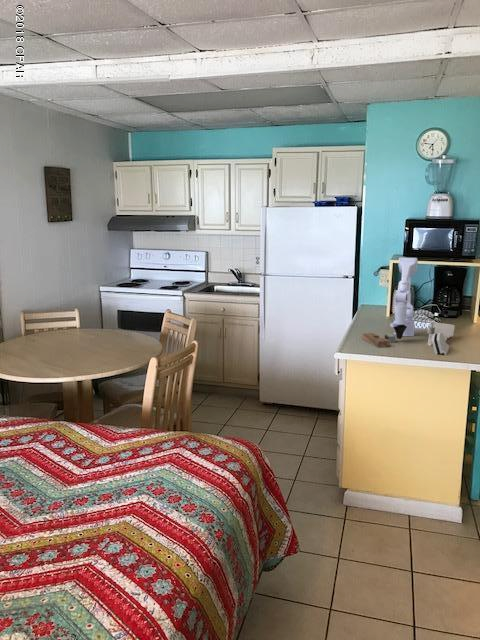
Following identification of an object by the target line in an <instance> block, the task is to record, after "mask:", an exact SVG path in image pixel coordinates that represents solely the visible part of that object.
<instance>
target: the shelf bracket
mask: <svg viewBox="0 0 480 640" xmlns="http://www.w3.org/2000/svg"><path fill="white" fill-rule="evenodd" d="M455 327H456V326H455V324H450V323H449V324H448V323H443V322H433V321H432V322H431V323H430V326H428V327H427V334H428V338H427V339H428V340H427V346H433V344H432V336H433V335H434V334H438V333H443V336H444V339H445V342H447V339H449V338H450V337H454V333H455Z"/></svg>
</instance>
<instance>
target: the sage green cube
mask: <svg viewBox="0 0 480 640" xmlns="http://www.w3.org/2000/svg"><path fill="white" fill-rule="evenodd" d="M384 338H385V339H387V340H389V341H390V344H393V343H396V335H395V334H393V333H385V334H384Z"/></svg>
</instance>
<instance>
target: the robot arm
mask: <svg viewBox="0 0 480 640" xmlns="http://www.w3.org/2000/svg"><path fill="white" fill-rule="evenodd" d="M418 262H419V261H418V258H417V257H402V256H400V257H399V258H398V264H397V265H398V270H399V273H400V274H401V279H400V281H398V285H397V292H395V297H394V301H395V303H394V305H395V306H394V307H395V309H394V313H393V314H394V315H393V316H394V320H393V322H391V323H390V324H389V327H390V328H393V329H394V331H395V332H392V334H393V335H395V337H396V339H399V340H401V339H403V337H414V336H415V325H416V324H415V321H414V305H413V304H412V303H410V297H411V286H412V278H413V275H415V274H416V273H417V271H418Z"/></svg>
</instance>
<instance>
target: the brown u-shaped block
mask: <svg viewBox="0 0 480 640" xmlns="http://www.w3.org/2000/svg"><path fill="white" fill-rule="evenodd" d="M361 335H362V336H361V340H363V341H365V342H366V343H369V344H370V345H372V346H375V347H377V348H386V347H389V348H390V347H391V343H390V341H389V340H387V339H385V337H381V338H380V335H379V334H377V333H375V332H370V333H362V334H361Z"/></svg>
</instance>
